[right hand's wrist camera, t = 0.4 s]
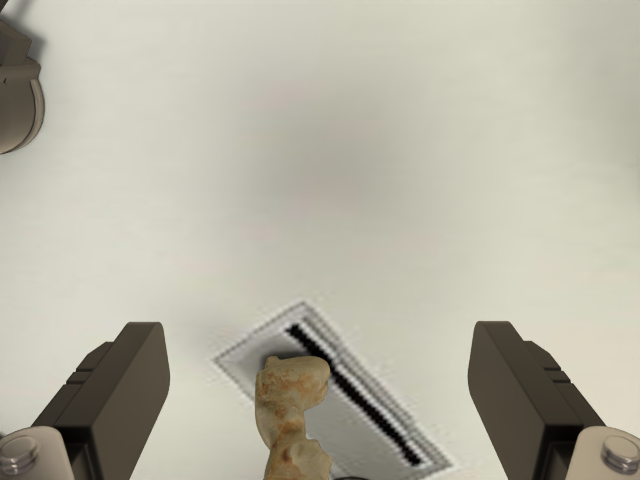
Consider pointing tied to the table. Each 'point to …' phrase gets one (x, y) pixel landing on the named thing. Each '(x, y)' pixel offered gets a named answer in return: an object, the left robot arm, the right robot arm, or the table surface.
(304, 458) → the sculpture
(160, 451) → the table surface
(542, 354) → the right robot arm
